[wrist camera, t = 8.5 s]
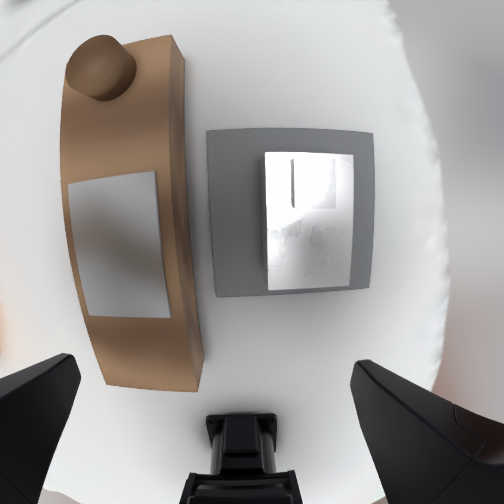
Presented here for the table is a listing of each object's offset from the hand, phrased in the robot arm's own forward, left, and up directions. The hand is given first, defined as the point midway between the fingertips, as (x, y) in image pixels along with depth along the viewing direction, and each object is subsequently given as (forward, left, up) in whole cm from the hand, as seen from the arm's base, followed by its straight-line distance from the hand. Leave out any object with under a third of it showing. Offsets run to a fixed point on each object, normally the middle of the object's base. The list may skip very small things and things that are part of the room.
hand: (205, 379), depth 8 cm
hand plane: (+3, +6, -12) cm, 13 cm away
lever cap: (+3, -5, -11) cm, 13 cm away
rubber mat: (+3, -5, -12) cm, 13 cm away
